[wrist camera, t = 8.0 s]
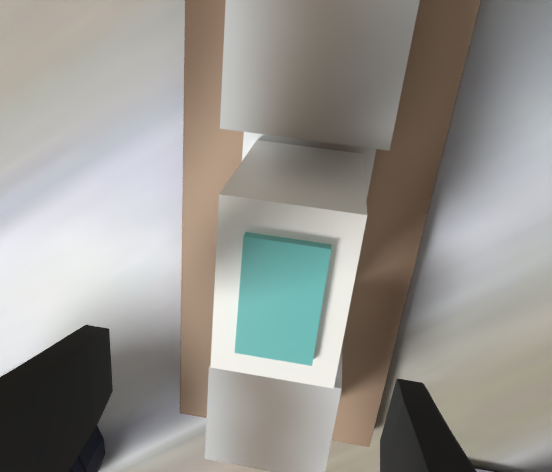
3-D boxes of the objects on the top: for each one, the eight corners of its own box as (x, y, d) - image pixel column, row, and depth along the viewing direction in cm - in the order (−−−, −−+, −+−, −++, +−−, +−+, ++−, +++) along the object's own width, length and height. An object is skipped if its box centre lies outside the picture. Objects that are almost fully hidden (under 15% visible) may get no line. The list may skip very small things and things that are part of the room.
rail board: (502, -115, 16) (572, -170, 11) (368, 431, 26) (373, 531, 21) (196, -140, 16) (130, -203, 11) (185, 399, 27) (148, 488, 22)
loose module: (362, 153, 18) (367, 219, 13) (337, 290, 21) (333, 395, 15) (257, 139, 19) (216, 198, 13) (245, 275, 21) (208, 373, 16)
